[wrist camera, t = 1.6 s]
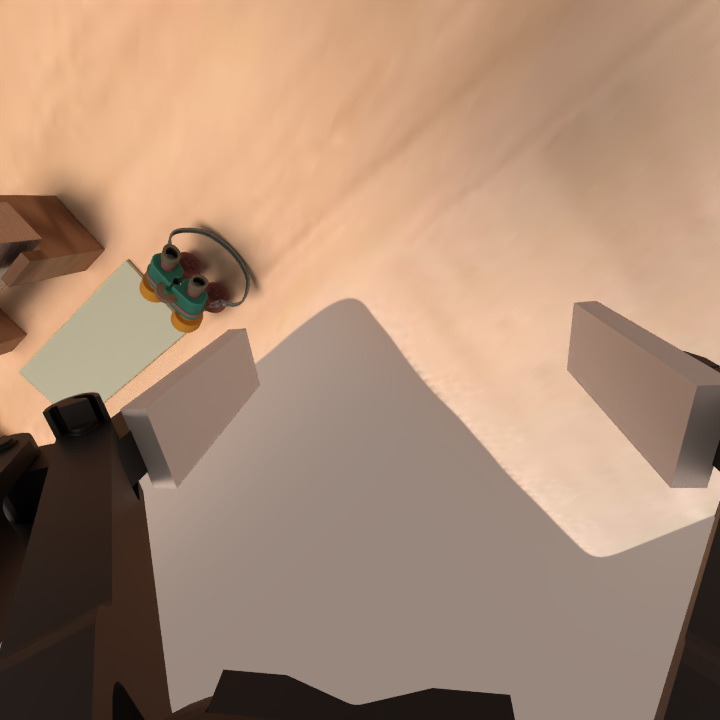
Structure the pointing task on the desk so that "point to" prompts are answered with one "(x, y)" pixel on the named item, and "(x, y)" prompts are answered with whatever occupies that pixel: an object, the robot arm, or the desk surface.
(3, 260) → the rail
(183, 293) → the binoculars
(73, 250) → the rack
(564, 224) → the desk surface
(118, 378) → the mat
